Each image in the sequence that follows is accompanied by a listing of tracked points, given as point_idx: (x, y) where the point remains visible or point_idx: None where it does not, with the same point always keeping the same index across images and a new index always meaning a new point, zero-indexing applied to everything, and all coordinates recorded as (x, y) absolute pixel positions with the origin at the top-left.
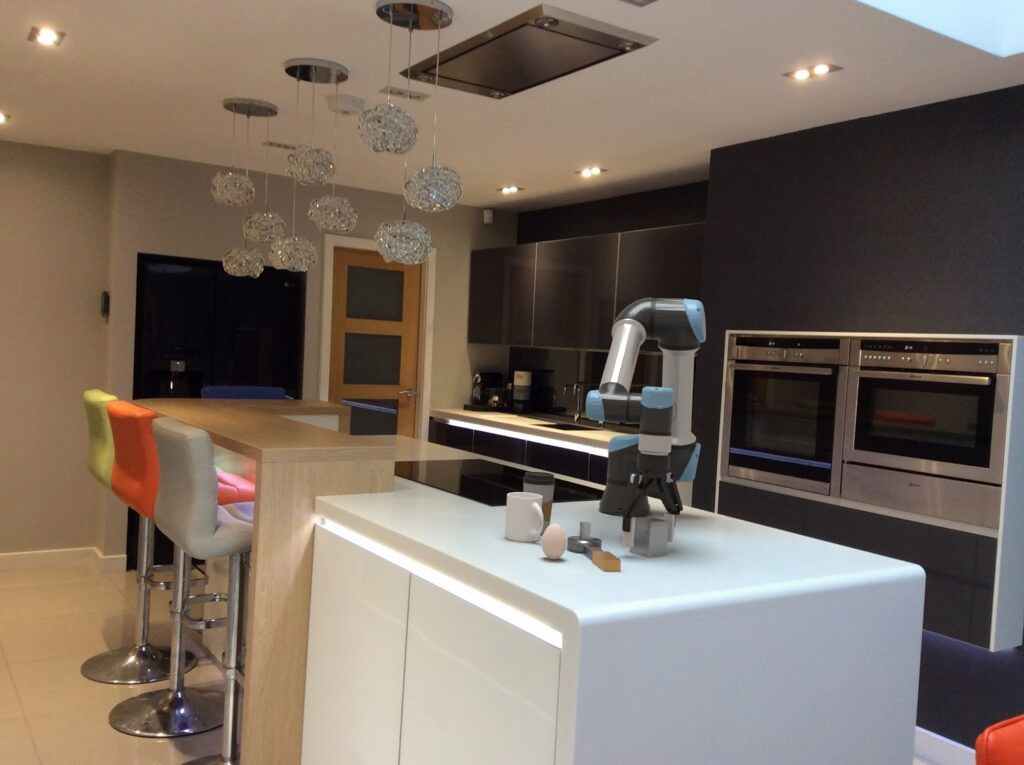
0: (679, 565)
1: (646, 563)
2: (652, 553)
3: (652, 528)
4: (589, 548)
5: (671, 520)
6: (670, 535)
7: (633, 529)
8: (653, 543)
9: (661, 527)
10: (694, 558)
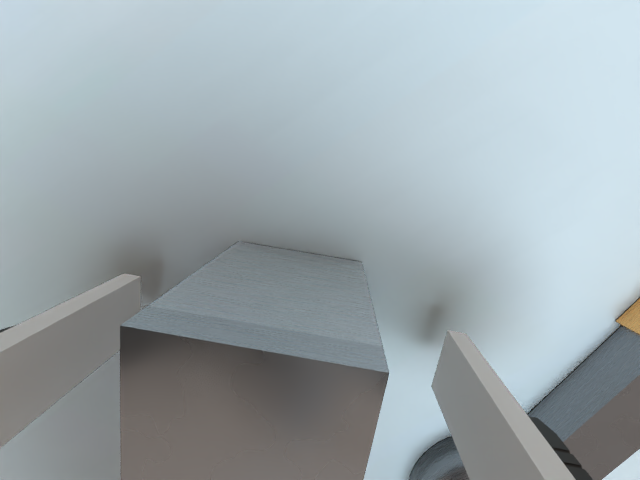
0: (376, 65)
1: (484, 198)
2: (336, 262)
3: (354, 332)
4: (631, 449)
5: (8, 360)
6: (112, 300)
7: (509, 408)
8: (332, 280)
9: (239, 313)
10: (165, 113)
